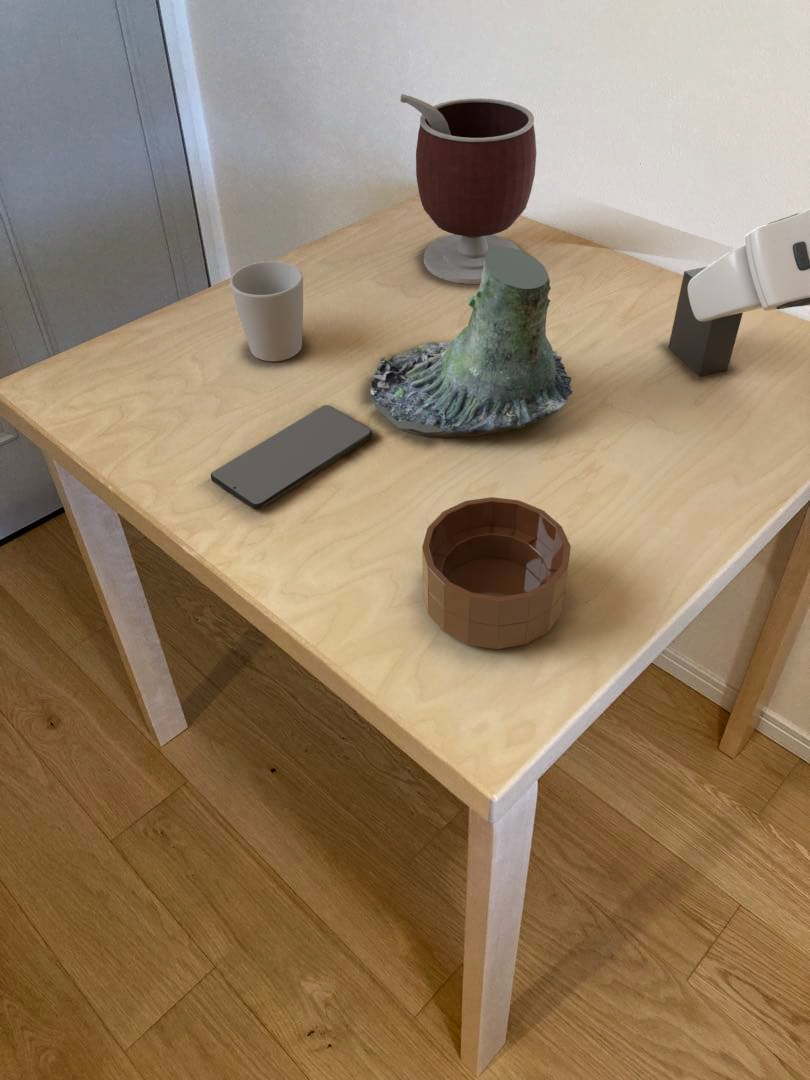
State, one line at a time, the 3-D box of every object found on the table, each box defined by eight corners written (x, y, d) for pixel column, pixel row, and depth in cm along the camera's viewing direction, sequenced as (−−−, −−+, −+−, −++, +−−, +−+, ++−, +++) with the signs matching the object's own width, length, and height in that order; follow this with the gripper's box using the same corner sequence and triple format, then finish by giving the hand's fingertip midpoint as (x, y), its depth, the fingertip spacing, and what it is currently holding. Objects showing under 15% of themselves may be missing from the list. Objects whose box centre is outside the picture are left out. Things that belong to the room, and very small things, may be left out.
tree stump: (418, 330, 102) (459, 181, 89) (574, 410, 98) (641, 268, 85) (335, 409, 90) (368, 251, 77) (510, 504, 86) (577, 355, 73)
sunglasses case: (696, 341, 98) (713, 264, 92) (727, 369, 94) (748, 291, 88) (668, 347, 97) (684, 271, 91) (698, 376, 93) (718, 298, 87)
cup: (240, 370, 96) (227, 298, 90) (243, 321, 103) (232, 252, 97) (311, 365, 96) (303, 293, 90) (309, 317, 104) (302, 247, 98)
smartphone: (374, 430, 86) (255, 506, 79) (375, 437, 87) (257, 514, 79) (325, 402, 90) (206, 473, 82) (326, 409, 90) (208, 480, 83)
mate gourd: (518, 232, 118) (530, 67, 104) (536, 284, 108) (551, 109, 94) (401, 238, 117) (396, 73, 103) (408, 291, 107) (404, 117, 93)
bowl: (539, 542, 76) (545, 489, 72) (580, 640, 68) (589, 587, 64) (412, 561, 75) (411, 508, 71) (439, 663, 67) (440, 611, 63)
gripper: (949, 188, 74) (835, 247, 88) (736, 231, 70) (651, 287, 83) (967, 262, 74) (850, 310, 88) (756, 310, 70) (667, 353, 83)
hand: (752, 299), depth 86 cm, fingers open, 8 cm apart
